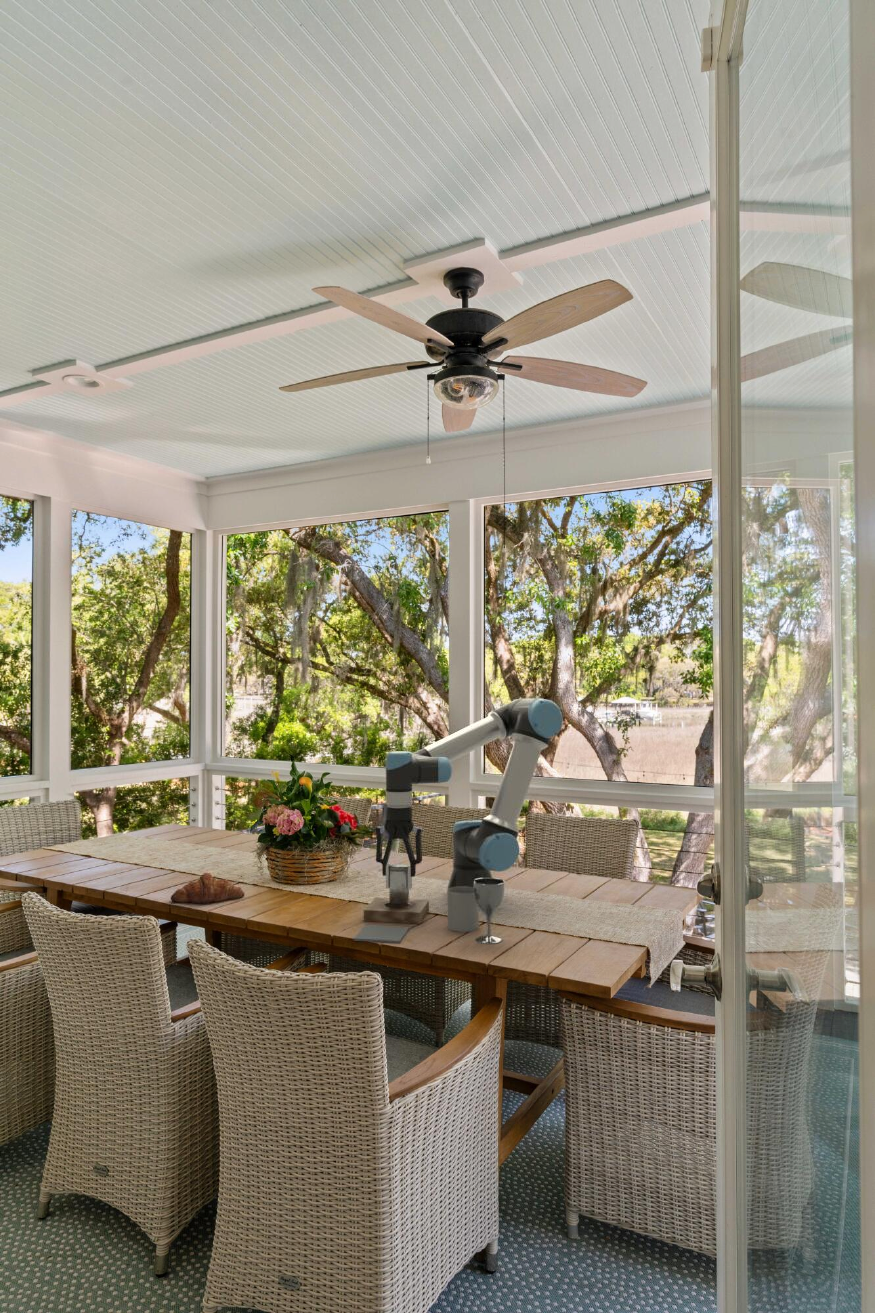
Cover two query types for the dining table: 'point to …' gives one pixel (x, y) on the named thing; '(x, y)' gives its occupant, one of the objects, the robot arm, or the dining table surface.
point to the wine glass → (489, 903)
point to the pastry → (207, 891)
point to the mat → (381, 934)
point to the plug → (398, 884)
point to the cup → (462, 909)
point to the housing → (396, 911)
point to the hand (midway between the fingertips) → (399, 887)
